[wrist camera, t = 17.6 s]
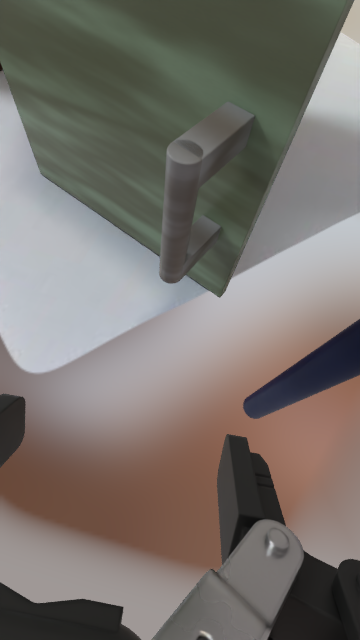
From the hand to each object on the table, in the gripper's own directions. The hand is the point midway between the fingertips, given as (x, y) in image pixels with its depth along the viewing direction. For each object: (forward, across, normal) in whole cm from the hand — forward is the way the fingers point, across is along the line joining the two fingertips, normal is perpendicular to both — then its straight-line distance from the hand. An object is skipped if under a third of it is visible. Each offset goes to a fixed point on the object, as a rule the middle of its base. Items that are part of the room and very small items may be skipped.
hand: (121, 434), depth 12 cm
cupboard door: (+22, +8, -6) cm, 25 cm away
